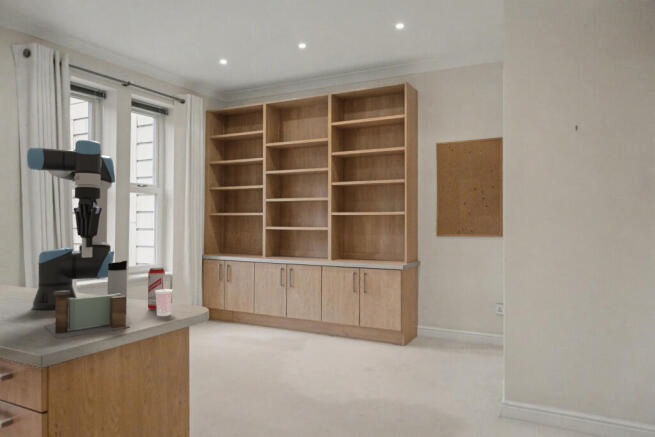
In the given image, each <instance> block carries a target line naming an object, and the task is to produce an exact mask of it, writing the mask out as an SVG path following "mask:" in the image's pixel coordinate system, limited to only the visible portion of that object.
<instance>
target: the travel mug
mask: <svg viewBox="0 0 655 437" xmlns="http://www.w3.org/2000/svg"><path fill="white" fill-rule="evenodd" d="M127 266H128V260H122V261H117V262H113V263H108V277H107V295H110V294H115V293H120V294H122V296H126V314H127V308H128V306H127V304H128V302H127V301H128V300H127V297H128V294H127V292H128V291H127V290H128V268H127Z"/></svg>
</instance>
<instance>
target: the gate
mask: <svg viewBox="0 0 655 437" xmlns="http://www.w3.org/2000/svg"><path fill="white" fill-rule="evenodd" d="M114 296H122V294H120V293H115V294H110V295H108V294H104V295H103V294H102V295H92V296H91V295H90V296H82V297H77V298H68V329H69V330H75V329H76V328H83V327H90V326H97V325H104V324H110V297H114Z"/></svg>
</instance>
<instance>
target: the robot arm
mask: <svg viewBox="0 0 655 437" xmlns="http://www.w3.org/2000/svg"><path fill="white" fill-rule="evenodd" d="M101 149H102V148H101V143H100V142H98V141H95V140H89V139H86V140H85V139H79V140H76V141H75V149H73V150H72V149H58V148H46V147H45V148H44V147H30V148H29V149H28V150H27V155H26V158H27V160H26V161H27V167H28V168H29V169H30V170H36V171H47V172H48V173H49V174H50V175H52V176H54V177H55V178H56V177H57V178H60V179H63V180H67V181H72V182H73V181H74V185H75V188H74V198H75V199H77V200H78V202H77V207H74V208H73V212H74V215H75V224H76V232H77V236H79V237H80V238H81V245H79V247H78V248H79V249H78V250H74V248H73V247H63V248H61V247H60V248H54V249H47V250H43V251H41V252H40V254H39V255H38V262H37V265H38V286H37V287H38V288H37V291H36V294H35V295H34V298H33V300H32V301H33V302H32V309H33V310H40V311H41V310H42V311H43V310H45V311H46V310H56V295H53V293H54V292H55V291H64V290H68V291H70V294H68V298H78V297H77V295H76V292H75V290H74V286H73V280H85V279H87V280H88V279H89V280H90V279H91V280H92V279H97V280H98V279H105V278H108V263H114V257H115V250H114V249H111V245H110V243H108V240H107V239H108V194H109V193H108V190H109V189H110V188H111V187H112V184H114V183H115V182H116V176H115V174H116V173H115V168H114V161H113V158H112V157H111V156H108V155H102V150H101Z"/></svg>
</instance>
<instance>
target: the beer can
mask: <svg viewBox="0 0 655 437" xmlns="http://www.w3.org/2000/svg"><path fill="white" fill-rule="evenodd" d="M147 276H148V277H147V309H148V310H150V311H157V305H156V293H155V290H160V289H163V277H165V278H166V271H165V270H164V267H151V268H150V267H149V271H148V272H147Z"/></svg>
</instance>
